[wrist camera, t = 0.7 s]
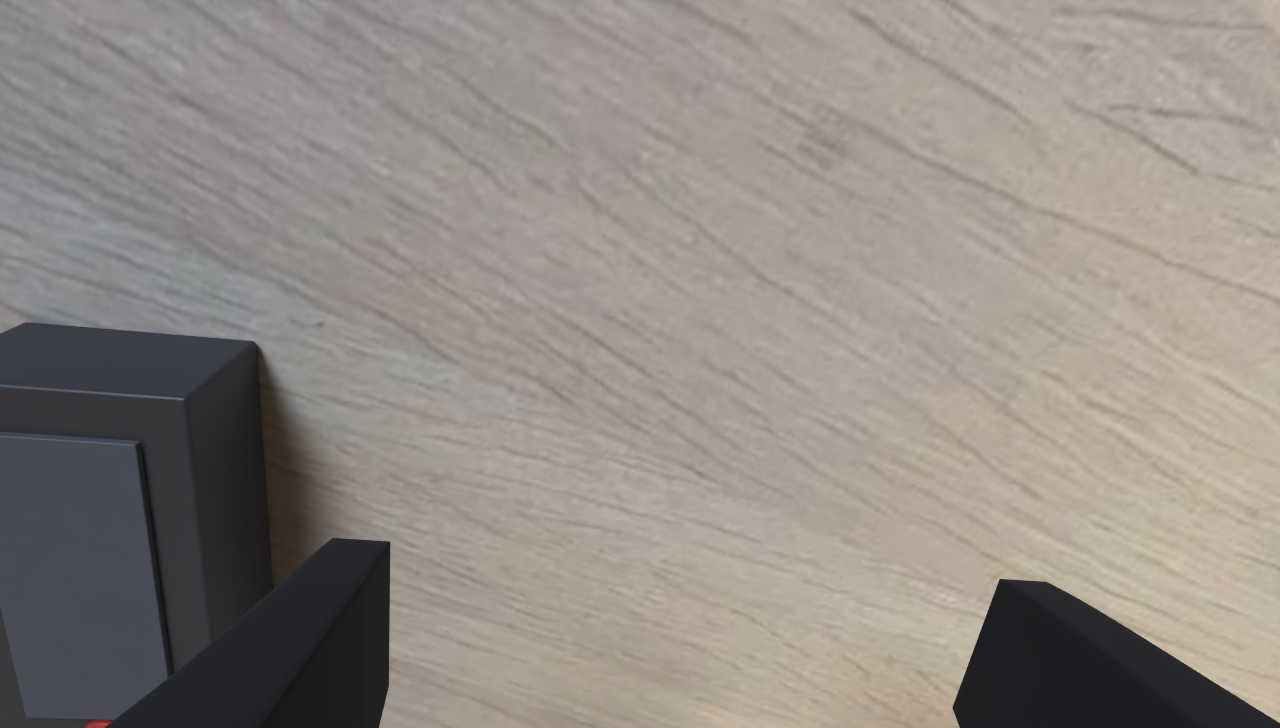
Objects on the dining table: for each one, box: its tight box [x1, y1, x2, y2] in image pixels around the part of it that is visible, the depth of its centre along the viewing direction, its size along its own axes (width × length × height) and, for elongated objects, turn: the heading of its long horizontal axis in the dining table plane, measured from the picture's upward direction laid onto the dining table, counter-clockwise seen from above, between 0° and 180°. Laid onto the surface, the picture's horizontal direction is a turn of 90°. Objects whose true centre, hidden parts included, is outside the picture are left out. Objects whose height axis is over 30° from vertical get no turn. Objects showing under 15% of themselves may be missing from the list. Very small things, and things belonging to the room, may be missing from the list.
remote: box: [0, 323, 273, 728], centre depth 15 cm, size 9×4×3 cm, turn 173°
